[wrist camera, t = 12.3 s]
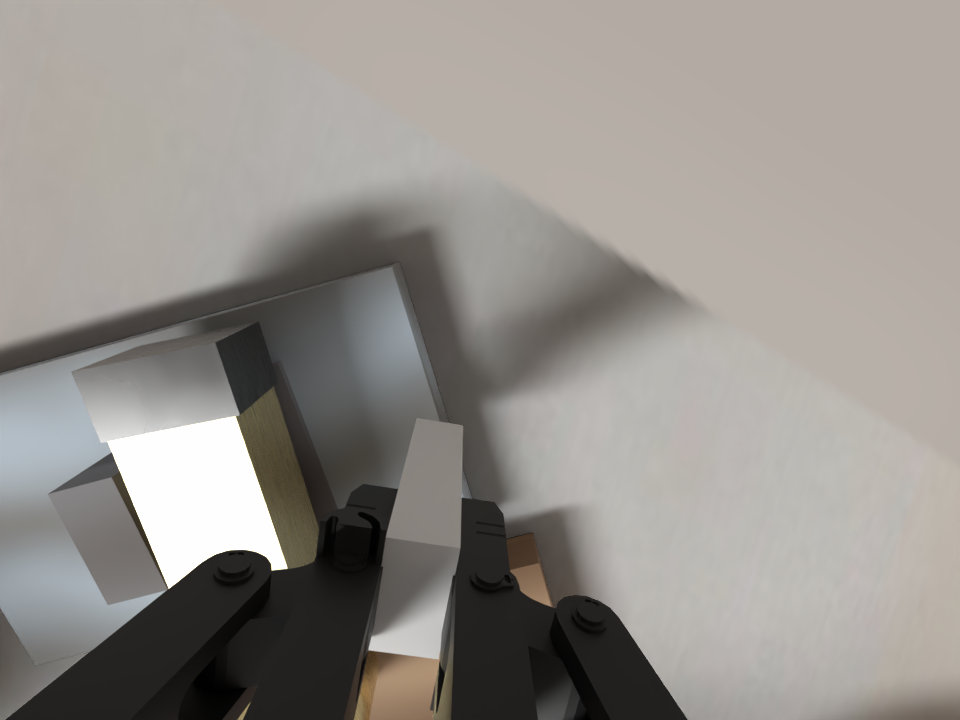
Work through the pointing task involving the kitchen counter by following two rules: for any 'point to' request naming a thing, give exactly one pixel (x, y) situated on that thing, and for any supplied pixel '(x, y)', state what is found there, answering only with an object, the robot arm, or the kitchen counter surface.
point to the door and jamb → (313, 432)
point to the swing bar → (207, 454)
